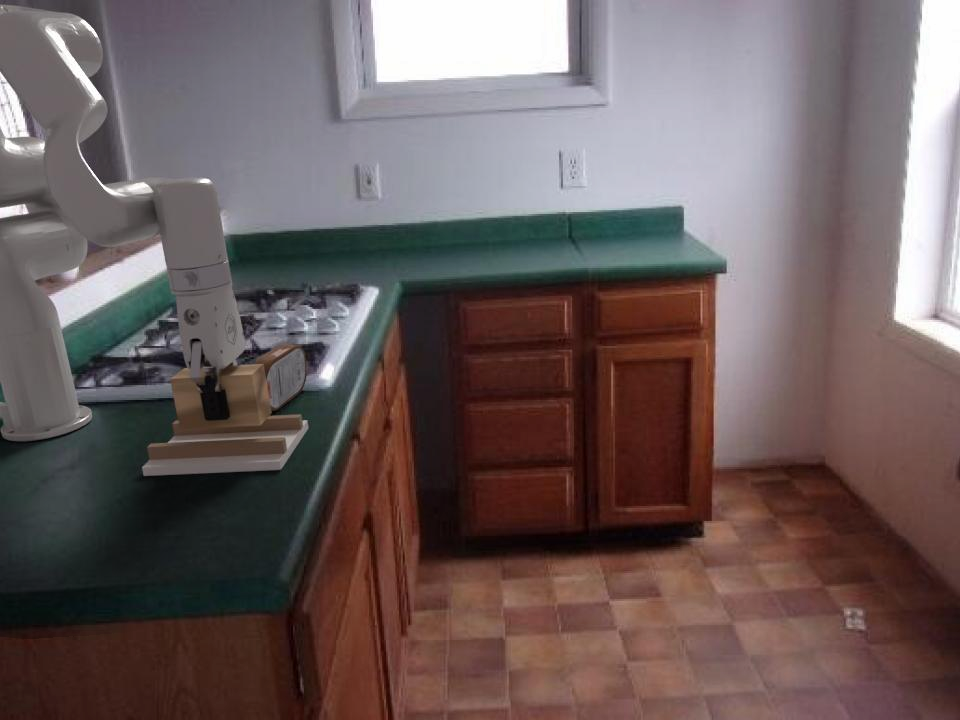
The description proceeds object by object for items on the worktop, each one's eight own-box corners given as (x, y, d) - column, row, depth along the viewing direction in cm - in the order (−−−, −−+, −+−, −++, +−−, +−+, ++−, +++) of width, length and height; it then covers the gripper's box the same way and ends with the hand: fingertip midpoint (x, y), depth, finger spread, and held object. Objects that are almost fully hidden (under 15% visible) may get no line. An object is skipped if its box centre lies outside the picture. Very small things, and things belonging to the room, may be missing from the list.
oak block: (260, 425, 112) (251, 374, 110) (180, 429, 113) (170, 378, 111) (271, 413, 116) (263, 363, 114) (194, 416, 118) (184, 368, 116)
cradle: (143, 475, 110) (139, 454, 110) (185, 434, 124) (182, 414, 123) (280, 469, 109) (277, 447, 108) (308, 428, 122) (305, 408, 121)
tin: (295, 385, 142) (288, 336, 139) (313, 386, 141) (306, 336, 138) (251, 419, 128) (242, 365, 125) (270, 420, 127) (261, 365, 125)
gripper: (204, 290, 101) (231, 434, 106) (250, 262, 117) (270, 389, 122) (143, 294, 102) (172, 438, 107) (196, 266, 118) (219, 392, 123)
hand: (224, 410), depth 115 cm, fingers closed on oak block, 4 cm apart
